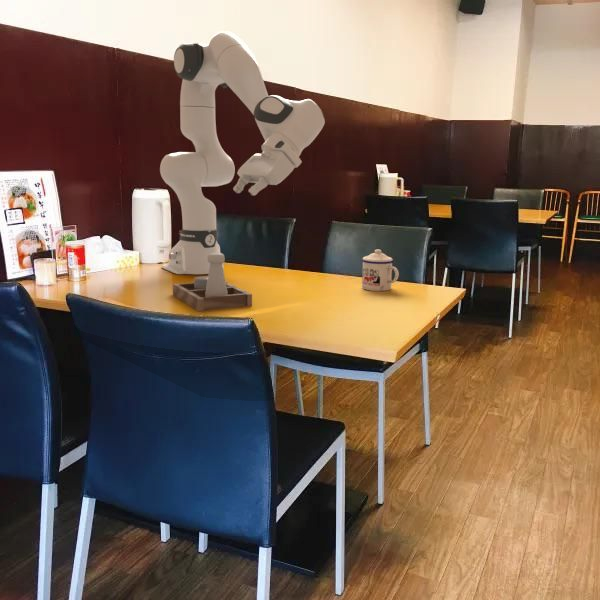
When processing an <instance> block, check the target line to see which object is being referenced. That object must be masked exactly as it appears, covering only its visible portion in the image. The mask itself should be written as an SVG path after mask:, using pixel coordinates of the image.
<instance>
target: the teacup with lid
mask: <svg viewBox="0 0 600 600" xmlns="http://www.w3.org/2000/svg"><path fill="white" fill-rule="evenodd" d="M361 261H362V276H361V277H362V278H361V279H362V280H361V288H362V289H363V290H365V291H369V292H371V291H372V292H387V291H389V290H391V289H392V284H393V283H396V282H397V280H398V278H399V275H400V274H399V270H398V268H397V267H396V266H393V262H394V259H393V258H392V257H390V256H388V255H387V254H385V253H383V252H382V250H381V249H374V252H372V253H369V255H365V256H363V257H362V260H361ZM392 271H393V272H394V277H393V279H392Z"/></svg>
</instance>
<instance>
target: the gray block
mask: <svg viewBox="0 0 600 600" xmlns="http://www.w3.org/2000/svg"><path fill="white" fill-rule="evenodd" d="M207 279H208V275H207V276H205V275H204V276H197V277H194V278H193V283H194V290H198V289H206V285H207Z"/></svg>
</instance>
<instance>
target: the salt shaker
mask: <svg viewBox="0 0 600 600" xmlns="http://www.w3.org/2000/svg"><path fill="white" fill-rule="evenodd" d="M225 259H226V258H225V254H224V253H222V252H220V253H211V254H209V255H208V262H209V263H210V267H209V273H208V274H207V276H208V279H207V285H206V292H205V296H206V297H210V296H221V295H228V292H227V287H226V277H225V270H224V268H223V265H224V264H223V263H225V261H226V260H225Z"/></svg>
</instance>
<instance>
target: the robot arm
mask: <svg viewBox="0 0 600 600" xmlns="http://www.w3.org/2000/svg"><path fill="white" fill-rule="evenodd" d="M173 68H174V71H175V73H176V75H177V77H179V78H180V79H182V81H181V87H180V88H181V89H180V98H179V100H180V101H179V106H180V107H179V109H180V110H179V111H180V112H179V113H180V115H179V116H180V121H179V122H180V131H181V134H182V135H183V136H184V137H185V138H187V140H189V141H191V142H192V144H193V147H194V149H195V152H194V151H191V152H190V151H178V152H172V153H169V154H166V155H164V157H163V158H162V159H161V162H160V167H159V172H160V173H159V174H160V176H161V178H162V180H163V181H164V183H165V184H166V185H168V186H169V187H170V188H171V189H172V190H173V192H175V194H176V195H177V199H178V201H179V203H180V207H181V208H180V209H181V216H182V217H181V218H182V221H181V222H182V229H181V230H179V231H178V232H179V233H178V235H179V241H178V242H177V243H176V244H175V245H174V246H173V247H172V248H171V249H170V250H169V252H168V263H164V264H161V268H162V269H164V270H166V271H168V272H171V273H172V274H173V273H174V274H176V275H208V273H209V267H210V263H209V262H208V255H209V254H211V253H221V246H220V244H219V243H218V239H219V231H218V230H219V229H217V208H216V205H215V204H214V202H213V201H212V200H210V199H208V198H207V197H205V196H204V194H203V191H202V187H205V188H206V187H220V186H223V185H228V184H229V183H231V182H232V181H233V179H234V176H235V173H237V175H238V177H239V178H238V180H237V183H236V184H235V185H234V186H233V188H232V189H233V191H234V192H235V193H236V194H240V193H242V191H244V188H245V186H246V185H248V184H249V183H251V184H252V183H253V185H251V186H250V188H248V193H250V195H251V196H256V195H258V193H259V192H261V191H262V190H263V189H265V188H267V186H268V185H270V186H271V185H272V186H274V185H275V186H277V185H278V184H280V183H282V181H284V180H285V179H286V178H287V177H288V176H289V175H290V174H291V173H292V172H293V171H294V169H295V168H298V167H299V166H300V165H301V164H302V163H303V162H302V160H301V158H300V156H301V155H302V152H303V150H304V149H305V148H307V147H308V146H310V145H311V143H313V141H315V139H316V138H317V137H318V135H319V134H320V132H321V131H322V130H323V128H324V126H325V122H326V119H325V116H324V112H323V110H322V109H321V108H320V106H319V105H318V103H317V102H315V101H313V100H312V99H310V98H307V99H303V100H292V99H291V100H290V99H286V98H284V97H282V96H280V95H277V94H276V95H275V94H274V95H273V94H272V95H269V93H268V91H267V88H266V85H265V82H264V78H263V76H262V72H261V70H260V66H259V64H258V62H257V60H256V57H255V56H254V54H253V52H252V51H251V50H250V49H249V47H248V46H247V45H246V44H245V43H244V42H243V40H242V39H240V38H239V37H238V36H237V35H235V34H234V33H233V32H230V31H223V30H222V31H219V32H217V33H215V34H213V36H211V38H210V40H209V42H208V44H207V43H206V44H205V43H198V42H186V43H181V44H180V45H179V46H178V47H177V48H176V50H175V52H174V55H173ZM218 86H221V88H222V89H226V88H227V87H229V88H230V90H231V91H232V92H233V93H234V94H235V95H236V96H237V98H239V99H240V101H241V102H242V103H243V104H244V105H245V107H247V109H248V110H249V111H250V113H251V114H252V115H253V117H254V120H255V123H256V125H257V127H258V130H259V131H260V134H261V135H262V137H263V139H264V142H263V144H261V151H262V152H260V153H255V154H253V155H252V156H251V157H250V158H248V159H247V160H246V161H245V162H244V163H243V164H242V165H241V166H240V167H239V168H238V170H237V172H235V171H236V169H235V167H236V166H235V164H234V161H233V159H232V158H231V156H229V155H228V154H227V153H226V152H225V151H224V149H223V148H222V146H221V143H220V141H219V138H218V134H217V125H216V90H217V88H218ZM222 265H223V269H225V267H224V266H225V265H224V264H222Z"/></svg>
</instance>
